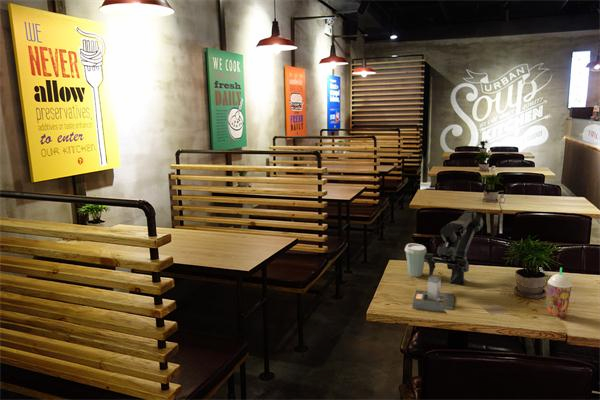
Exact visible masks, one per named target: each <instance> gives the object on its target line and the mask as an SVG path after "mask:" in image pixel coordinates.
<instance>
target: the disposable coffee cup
mask: <svg viewBox="0 0 600 400" xmlns="http://www.w3.org/2000/svg"><path fill="white" fill-rule="evenodd" d="M404 252H405V257H406V263H407V271H408V275H409V276H411V277H414V278H418V277H421V276H422V275H423V272H424V266H425V263H426V261H425V259H424V255H425V254H426V253H428V252H427V247H426V246H424V245H423V244H419V243H415V242H414V243H412V242H411V243H407V244H406V245H405V247H404Z"/></svg>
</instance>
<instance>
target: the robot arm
mask: <svg viewBox="0 0 600 400" xmlns="http://www.w3.org/2000/svg"><path fill="white" fill-rule="evenodd" d="M483 225H484V219H483V218H482V216H481V215H479V214H477V212H476V211H474V210H464V211H463V214H462V215H461V216H459V217H458V219H457V220H452V221H451V222H449V223H447V224H446V225H444V226H442V228H441V229H440V231H439V232H440V235H441V237H442V240H443V241H444V245H443V246H438V247H437V251H436V254H437V255H438V257H436V255H435V254H433V253H428V252H426V254H425V255H424V259H425V263H426V264H427V265H428V267H429V268H428V269H429V272H428V273H429V277H430V276H431V275H433V274H434V272H435V269H436V268H435V267H436V264H437V263H440V264H446V265H447V266H446V267H447V270H450V271H451V275H450V281H449V283H450V284H452V285H453V284H455V285H466V279H465V273H466V272H469V271H470V270H469V269H470V264H469V261H468V260H467V259H468V258H467V253H468V250H469V247H470V246H471V243H472V240H473V238H474V235H475V234H476V233H478V232H480V231H481V228H483ZM459 237H461V238H459Z"/></svg>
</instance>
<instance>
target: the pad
mask: <svg viewBox="0 0 600 400" xmlns="http://www.w3.org/2000/svg"><path fill="white" fill-rule="evenodd" d="M480 307H481V308H482V309H483V310H484V311H486V312H487V313H488V314H490V315H500V314H501V315H503V314H510V312H509V311H508V310H507V309H505V308H504V307H502V306H501V304H499V303H498V304H487V305H480Z"/></svg>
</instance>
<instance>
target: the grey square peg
mask: <svg viewBox="0 0 600 400" xmlns="http://www.w3.org/2000/svg"><path fill="white" fill-rule="evenodd" d="M441 278H442V277H441V276H438V275H431V276H430V275H429V277H427V291H428V295H427V300H426V301H435V302H441V299H440V293H441V287H442V286H441V283H442V282H441V281H442V279H441Z"/></svg>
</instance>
